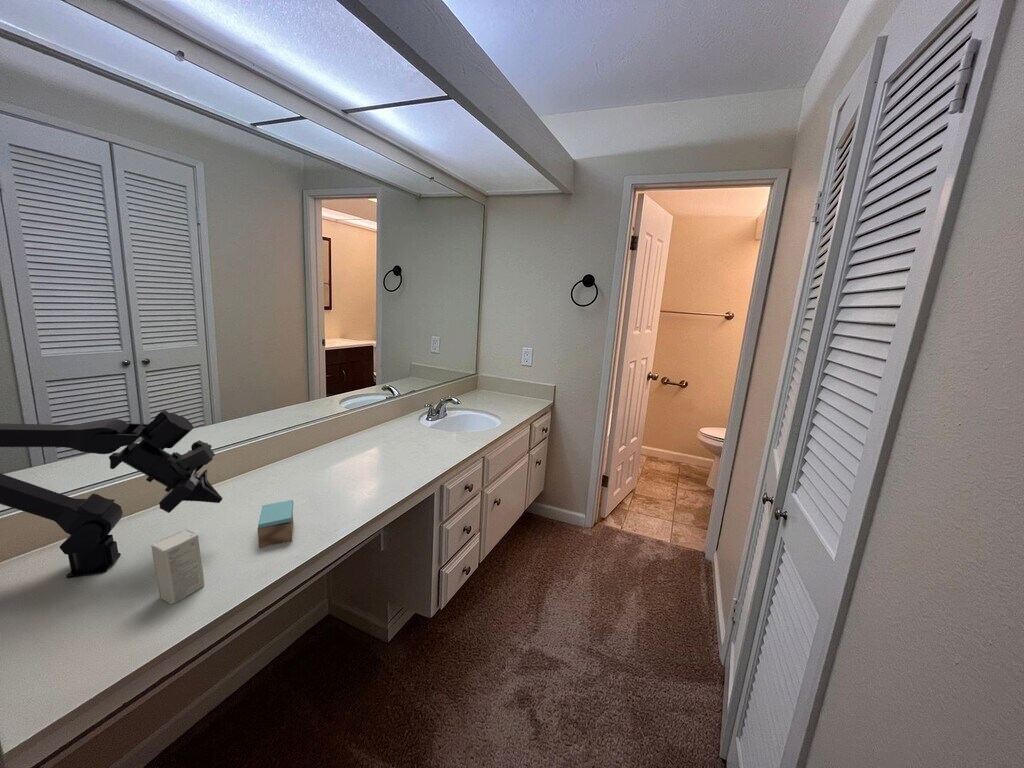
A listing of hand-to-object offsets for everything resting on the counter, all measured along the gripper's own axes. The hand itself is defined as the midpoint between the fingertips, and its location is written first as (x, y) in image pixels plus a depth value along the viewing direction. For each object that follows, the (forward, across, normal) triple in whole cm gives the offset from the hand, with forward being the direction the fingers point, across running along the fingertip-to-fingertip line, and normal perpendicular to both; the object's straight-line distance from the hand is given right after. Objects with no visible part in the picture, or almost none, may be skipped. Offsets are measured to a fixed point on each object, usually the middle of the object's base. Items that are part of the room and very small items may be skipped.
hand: (220, 500), depth 96 cm
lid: (+12, 0, -4) cm, 13 cm away
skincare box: (+5, -16, +12) cm, 20 cm away
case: (+16, 0, 0) cm, 16 cm away
